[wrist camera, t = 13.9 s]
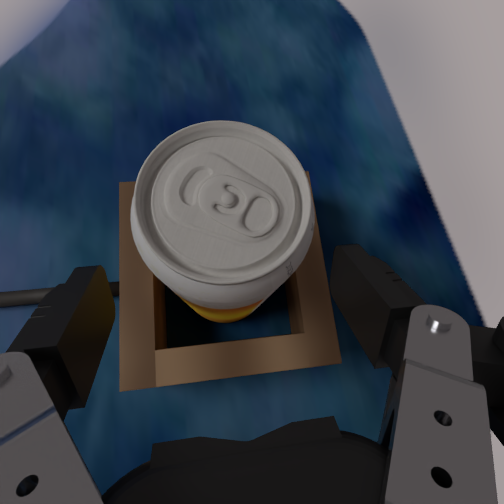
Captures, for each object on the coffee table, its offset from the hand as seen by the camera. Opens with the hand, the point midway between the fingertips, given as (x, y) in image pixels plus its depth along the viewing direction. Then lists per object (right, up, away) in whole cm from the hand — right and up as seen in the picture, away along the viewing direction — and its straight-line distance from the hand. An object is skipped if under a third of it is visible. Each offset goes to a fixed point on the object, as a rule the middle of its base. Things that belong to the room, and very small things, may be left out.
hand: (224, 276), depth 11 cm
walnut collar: (-6, -2, +12) cm, 14 cm away
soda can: (-1, -2, +13) cm, 13 cm away
